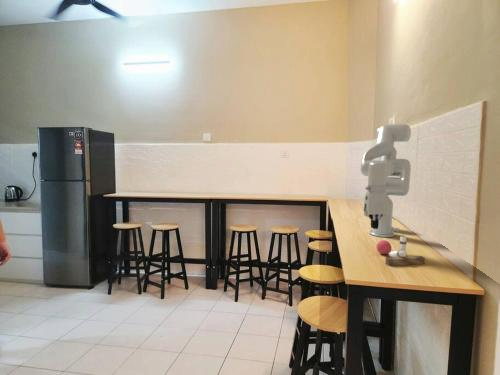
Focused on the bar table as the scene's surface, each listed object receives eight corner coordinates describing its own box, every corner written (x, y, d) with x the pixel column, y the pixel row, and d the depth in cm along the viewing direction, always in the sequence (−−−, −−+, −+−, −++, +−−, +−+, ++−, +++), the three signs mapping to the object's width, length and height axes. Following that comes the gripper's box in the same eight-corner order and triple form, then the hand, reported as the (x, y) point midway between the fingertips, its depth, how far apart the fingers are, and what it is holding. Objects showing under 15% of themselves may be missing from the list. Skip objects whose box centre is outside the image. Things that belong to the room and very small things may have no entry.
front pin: (393, 250, 133) (405, 249, 124) (394, 256, 133) (407, 256, 124) (387, 251, 133) (399, 250, 124) (389, 257, 132) (401, 257, 123)
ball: (395, 247, 132) (391, 256, 136) (389, 236, 137) (385, 245, 141) (382, 249, 132) (378, 258, 136) (376, 238, 136) (372, 246, 140)
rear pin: (402, 257, 133) (403, 236, 132) (406, 259, 130) (408, 237, 129) (397, 257, 132) (398, 236, 131) (401, 259, 130) (402, 238, 129)
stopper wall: (420, 262, 127) (421, 256, 127) (424, 263, 125) (424, 257, 125) (385, 263, 124) (385, 257, 123) (388, 265, 122) (389, 259, 121)
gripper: (366, 190, 138) (364, 231, 141) (396, 189, 141) (393, 229, 144) (357, 188, 146) (355, 227, 148) (386, 187, 148) (383, 225, 151)
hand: (374, 228), depth 146 cm, fingers closed
